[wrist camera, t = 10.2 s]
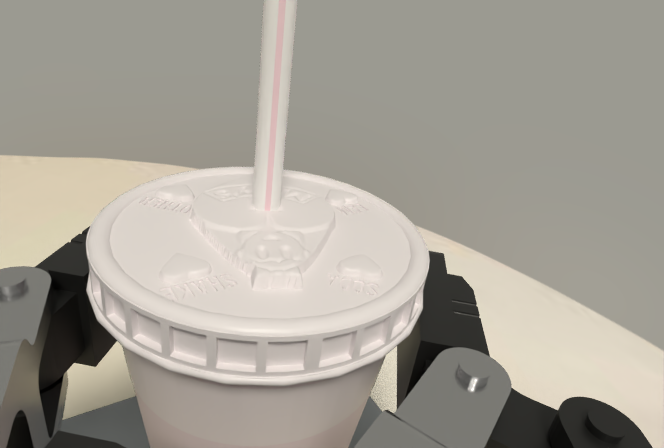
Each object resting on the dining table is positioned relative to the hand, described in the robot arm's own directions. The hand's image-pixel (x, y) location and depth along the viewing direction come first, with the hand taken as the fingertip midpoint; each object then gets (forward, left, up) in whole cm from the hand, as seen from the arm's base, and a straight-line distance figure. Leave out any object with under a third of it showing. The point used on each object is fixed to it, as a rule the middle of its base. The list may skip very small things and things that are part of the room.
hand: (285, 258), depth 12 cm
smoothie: (+2, -2, -8) cm, 8 cm away
